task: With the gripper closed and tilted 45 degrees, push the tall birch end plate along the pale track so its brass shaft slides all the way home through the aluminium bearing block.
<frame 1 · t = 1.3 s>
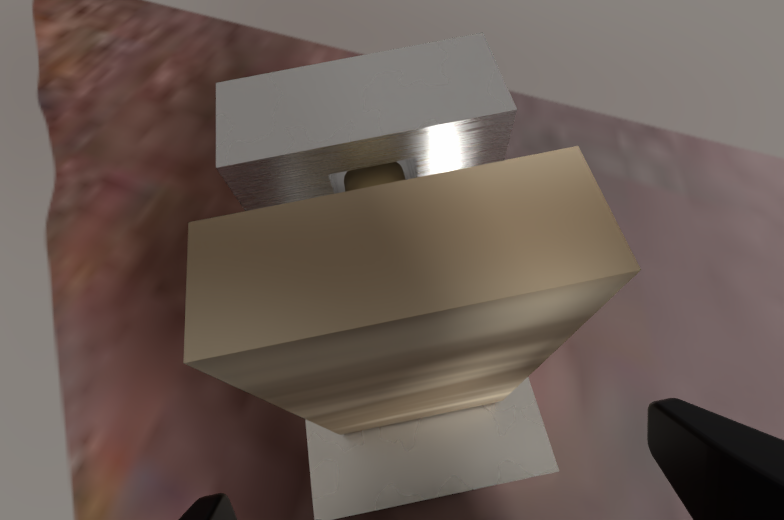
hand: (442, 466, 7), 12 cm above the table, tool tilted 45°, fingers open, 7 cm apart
bearing block: (402, 326, 21), on the table
shaft carriage: (392, 260, 14), point 7 cm above the table, slide at 5.0 cm
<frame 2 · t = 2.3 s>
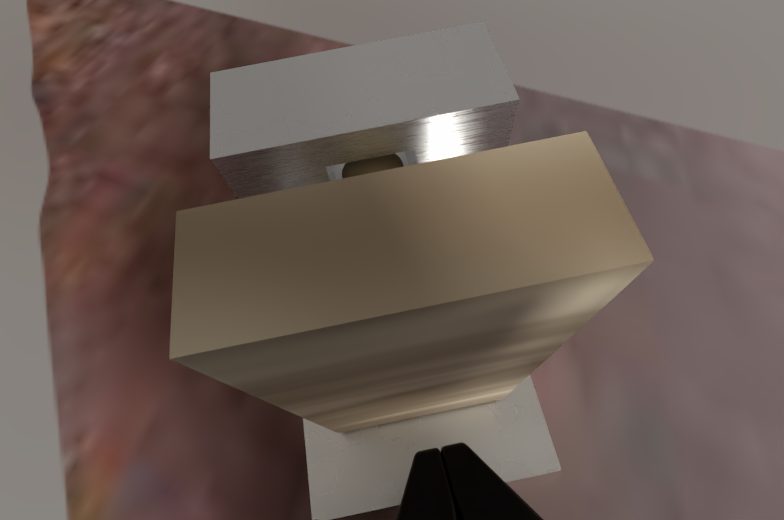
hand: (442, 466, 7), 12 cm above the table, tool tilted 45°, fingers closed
bearing block: (401, 323, 21), on the table
shaft carriage: (391, 255, 14), point 8 cm above the table, slide at 5.0 cm
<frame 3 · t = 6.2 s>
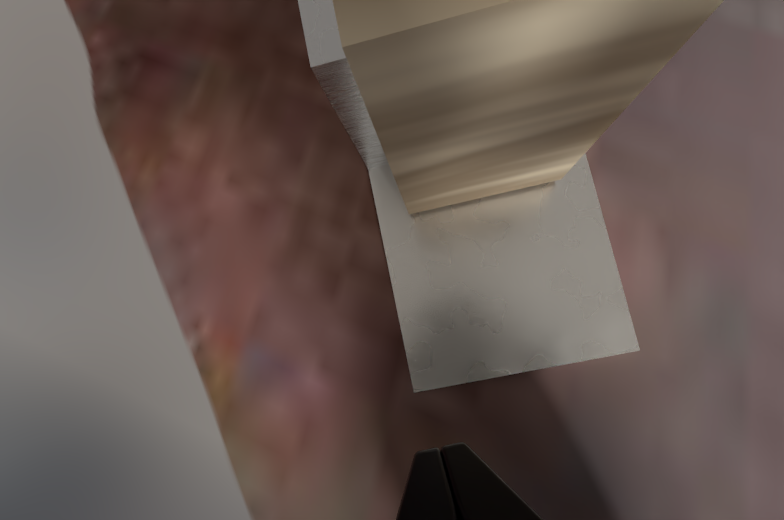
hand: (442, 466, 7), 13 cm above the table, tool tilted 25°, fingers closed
bearing block: (484, 214, 20), on the table
shaft carriage: (471, 19, 14), point 7 cm above the table, slide at 0.0 cm
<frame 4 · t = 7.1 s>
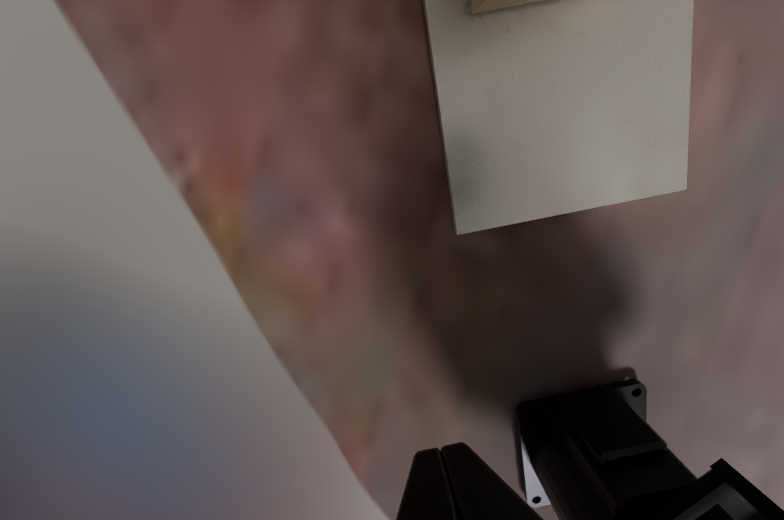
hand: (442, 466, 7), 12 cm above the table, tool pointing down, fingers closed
bearing block: (557, 21, 16), on the table
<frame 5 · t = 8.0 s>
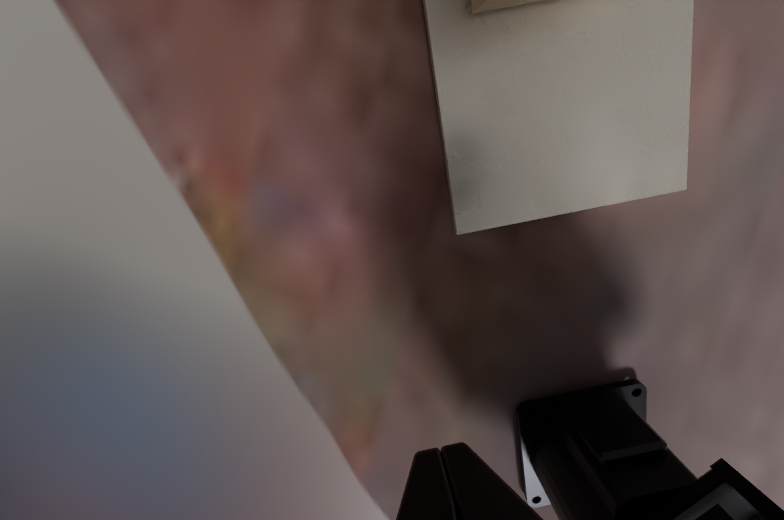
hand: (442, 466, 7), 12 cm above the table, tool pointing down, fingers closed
bearing block: (557, 21, 16), on the table
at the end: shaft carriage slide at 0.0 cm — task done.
